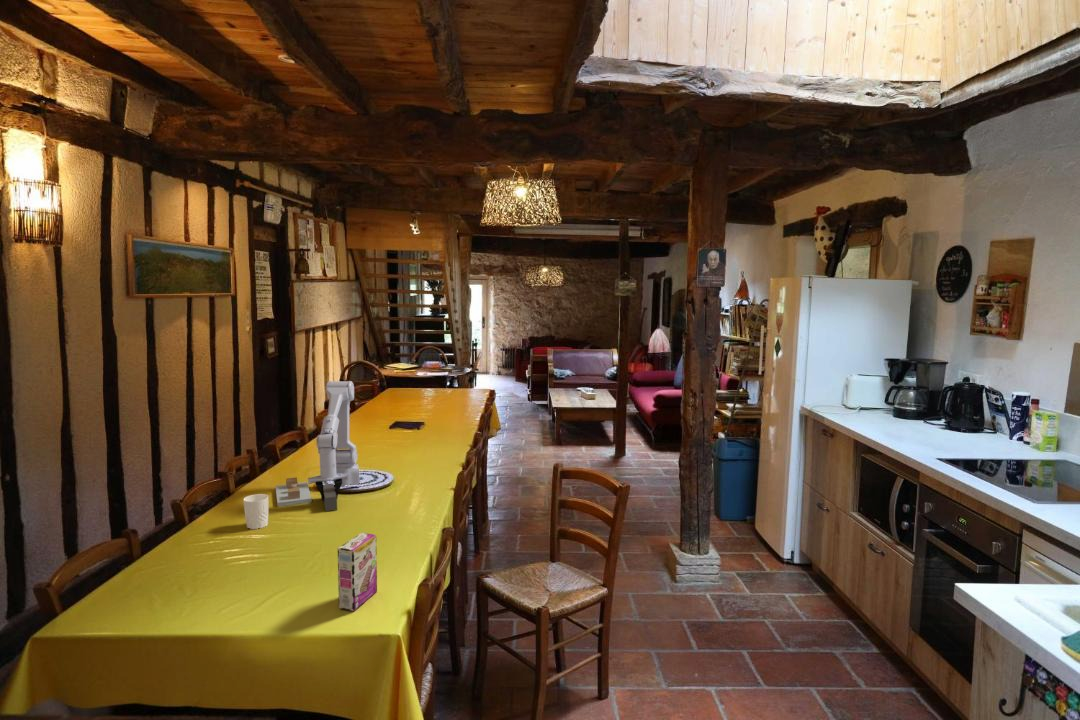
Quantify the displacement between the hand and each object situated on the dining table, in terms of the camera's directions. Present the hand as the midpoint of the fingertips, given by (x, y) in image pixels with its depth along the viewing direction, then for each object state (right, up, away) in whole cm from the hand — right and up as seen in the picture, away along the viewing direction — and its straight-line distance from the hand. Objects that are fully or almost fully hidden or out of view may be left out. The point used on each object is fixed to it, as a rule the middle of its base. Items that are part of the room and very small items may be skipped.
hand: (329, 499), depth 236 cm
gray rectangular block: (0, -1, 0) cm, 2 cm away
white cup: (-18, -5, -21) cm, 28 cm away
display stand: (-18, -1, +10) cm, 20 cm away
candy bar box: (+32, -11, -71) cm, 79 cm away
